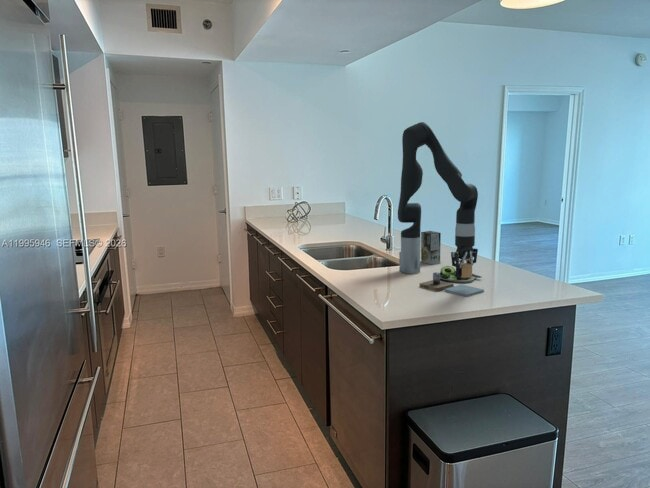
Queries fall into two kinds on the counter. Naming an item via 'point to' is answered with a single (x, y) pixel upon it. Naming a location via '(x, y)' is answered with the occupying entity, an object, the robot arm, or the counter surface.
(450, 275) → the salad plate
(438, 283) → the post stand
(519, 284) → the counter surface
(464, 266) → the cap
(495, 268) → the counter surface
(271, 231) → the counter surface
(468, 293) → the tile
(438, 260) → the coffee box
